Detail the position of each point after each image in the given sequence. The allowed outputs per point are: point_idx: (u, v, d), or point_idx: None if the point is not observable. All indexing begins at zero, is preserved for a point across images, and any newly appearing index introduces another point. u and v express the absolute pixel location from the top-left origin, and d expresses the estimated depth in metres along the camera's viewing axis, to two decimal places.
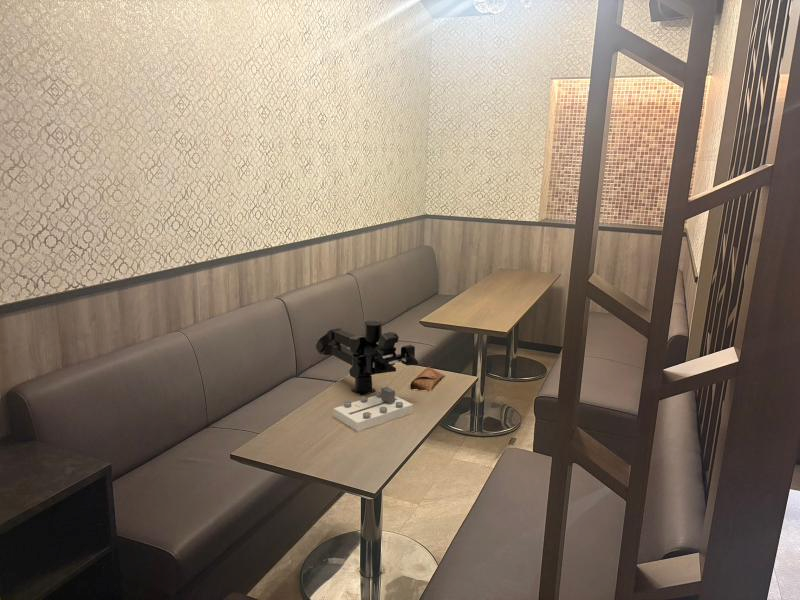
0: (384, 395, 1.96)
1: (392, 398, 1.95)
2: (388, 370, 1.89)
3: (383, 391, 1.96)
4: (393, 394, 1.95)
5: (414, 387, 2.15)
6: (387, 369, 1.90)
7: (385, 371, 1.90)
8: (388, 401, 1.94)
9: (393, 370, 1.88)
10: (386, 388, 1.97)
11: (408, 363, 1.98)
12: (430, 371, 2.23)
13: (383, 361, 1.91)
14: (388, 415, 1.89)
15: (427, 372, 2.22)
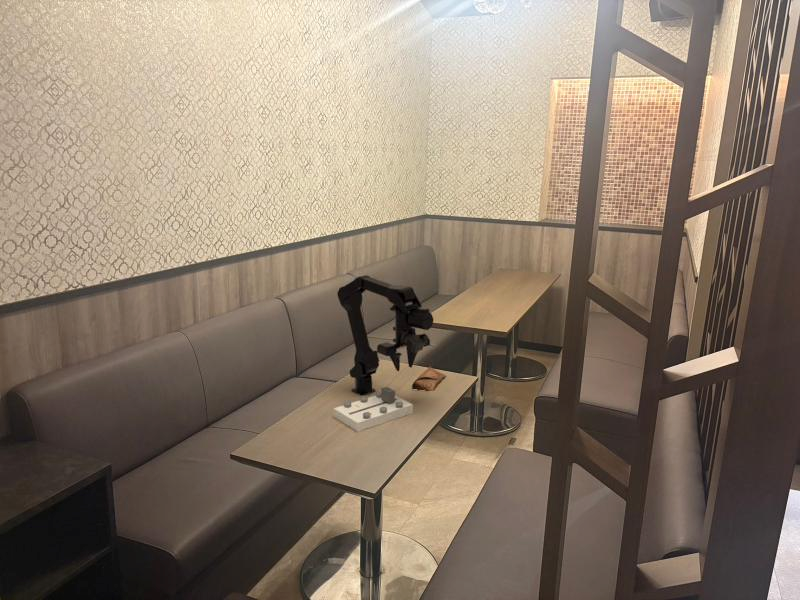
0: (384, 395, 1.96)
1: (392, 398, 1.95)
2: (394, 363, 1.96)
3: (383, 391, 1.96)
4: (393, 394, 1.95)
5: (416, 388, 2.14)
6: (394, 362, 1.96)
7: (392, 360, 1.96)
8: (388, 401, 1.94)
9: (396, 368, 1.97)
10: (386, 388, 1.97)
11: (407, 351, 2.00)
12: (432, 371, 2.23)
13: (398, 358, 1.94)
14: (388, 415, 1.89)
15: (429, 372, 2.22)
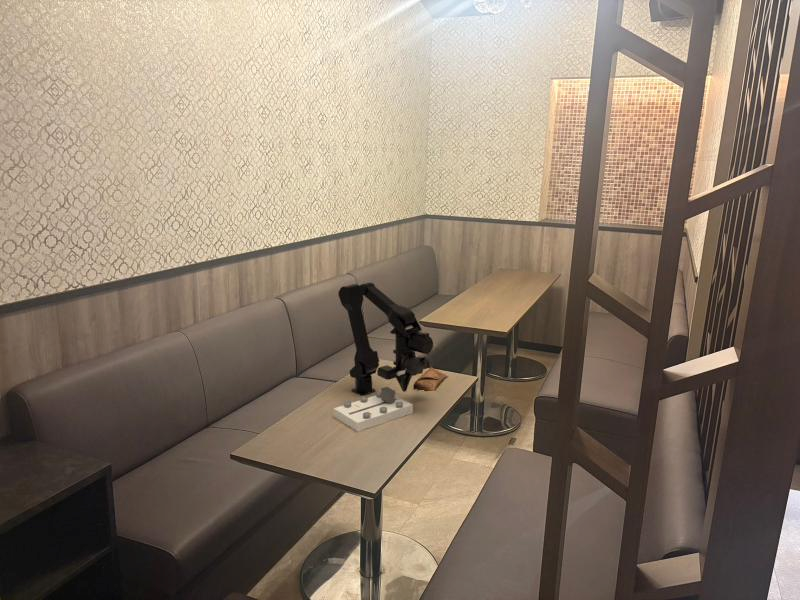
0: (384, 395, 1.96)
1: (392, 398, 1.95)
2: (400, 384, 2.00)
3: (383, 391, 1.96)
4: (393, 394, 1.95)
5: (417, 388, 2.14)
6: (400, 383, 1.99)
7: (398, 380, 2.00)
8: (388, 401, 1.94)
9: (402, 389, 2.00)
10: (386, 388, 1.97)
11: None
12: (433, 371, 2.23)
13: (404, 379, 1.97)
14: (388, 415, 1.89)
15: (430, 372, 2.22)
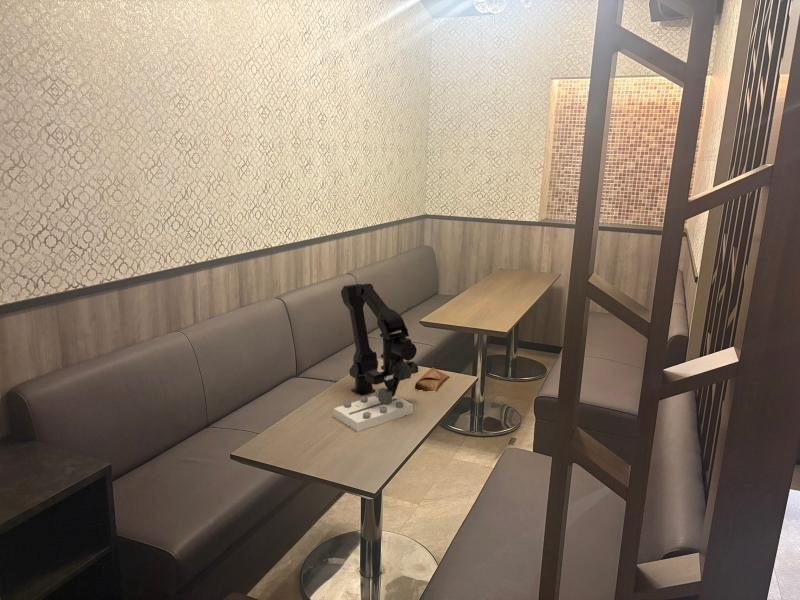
0: (381, 396, 1.95)
1: (389, 399, 1.94)
2: (388, 389, 1.97)
3: (380, 392, 1.95)
4: (390, 395, 1.94)
5: (418, 388, 2.14)
6: (388, 388, 1.96)
7: (386, 385, 1.97)
8: (385, 402, 1.94)
9: None
10: (383, 389, 1.96)
11: None
12: (435, 372, 2.23)
13: (392, 384, 1.94)
14: (388, 415, 1.89)
15: (432, 373, 2.21)
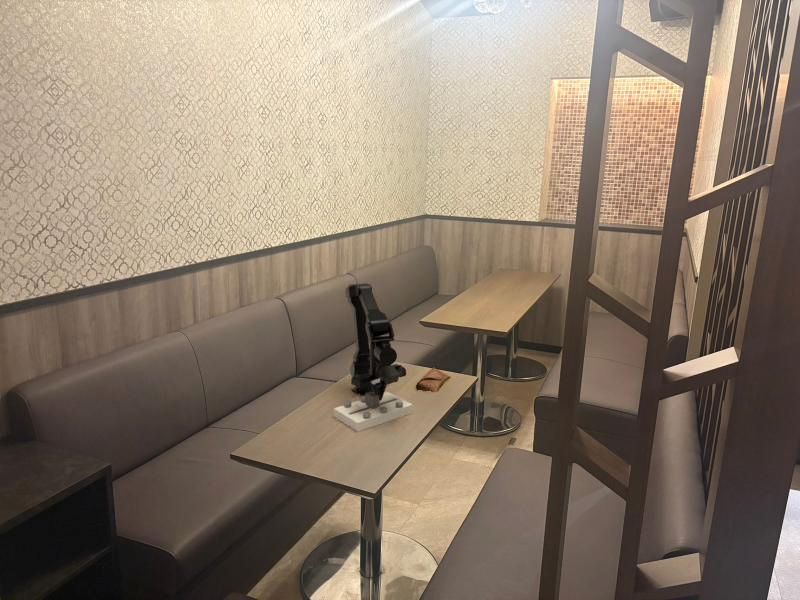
0: (368, 400, 1.92)
1: (376, 403, 1.91)
2: (375, 393, 1.94)
3: (367, 396, 1.92)
4: (377, 399, 1.91)
5: (419, 388, 2.14)
6: (375, 392, 1.93)
7: (373, 389, 1.94)
8: (372, 406, 1.91)
9: None
10: (370, 393, 1.93)
11: None
12: (435, 372, 2.22)
13: (379, 388, 1.91)
14: (388, 415, 1.89)
15: (433, 373, 2.21)
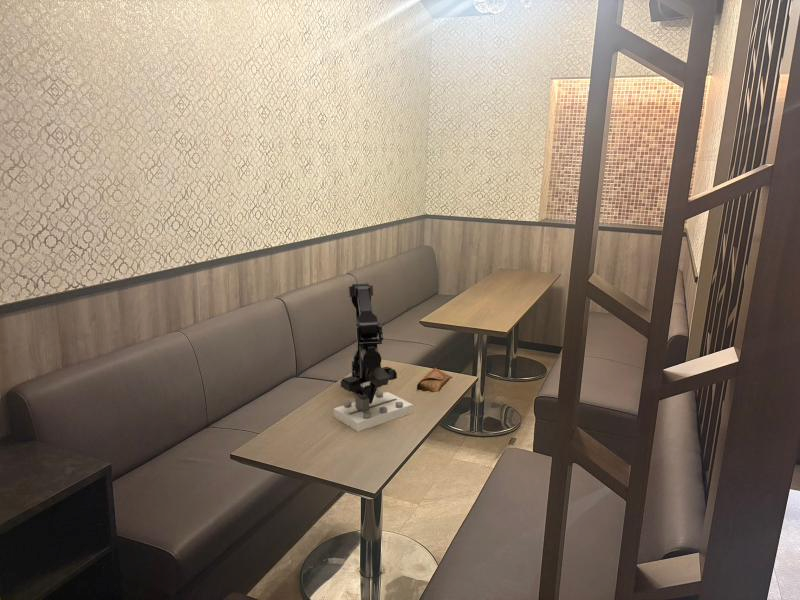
0: (358, 403, 1.90)
1: (366, 406, 1.89)
2: (365, 396, 1.91)
3: (357, 399, 1.90)
4: (367, 402, 1.89)
5: (420, 389, 2.14)
6: (365, 395, 1.91)
7: (363, 392, 1.91)
8: (362, 409, 1.88)
9: None
10: (360, 396, 1.90)
11: None
12: (437, 372, 2.22)
13: (369, 390, 1.89)
14: (388, 415, 1.89)
15: (434, 373, 2.21)
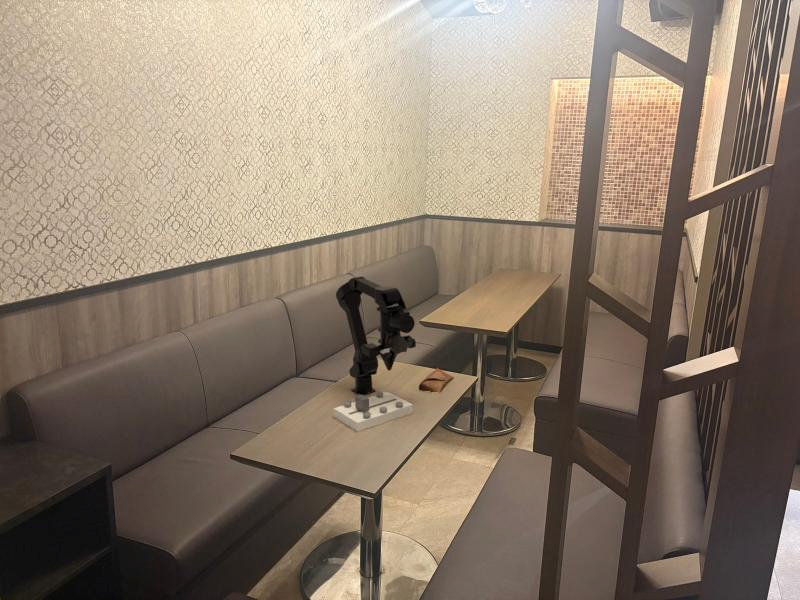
0: (358, 403, 1.90)
1: (366, 406, 1.89)
2: (384, 362, 1.98)
3: (357, 399, 1.90)
4: (367, 402, 1.88)
5: (422, 389, 2.13)
6: (385, 362, 1.97)
7: (383, 359, 1.98)
8: (362, 409, 1.88)
9: (387, 368, 1.98)
10: (360, 396, 1.90)
11: None
12: (439, 372, 2.22)
13: (388, 357, 1.95)
14: (388, 415, 1.89)
15: (436, 373, 2.21)
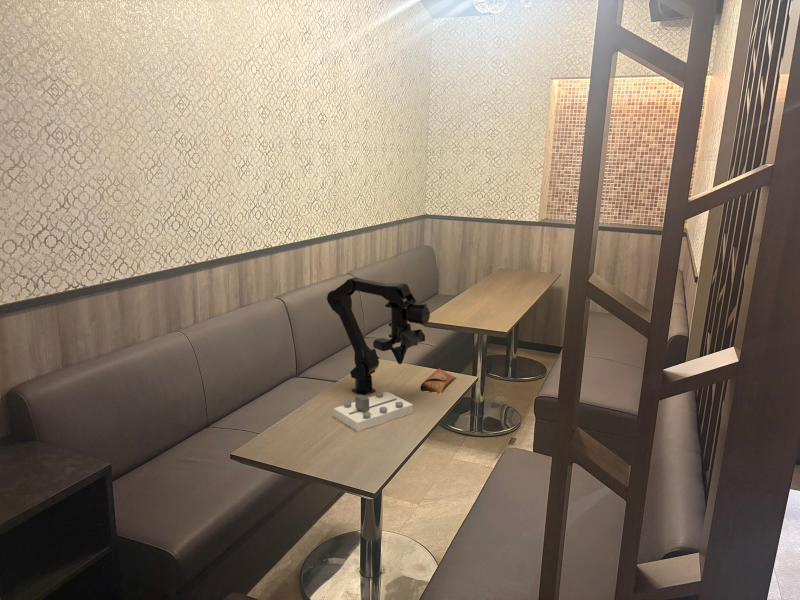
0: (358, 403, 1.90)
1: (366, 406, 1.89)
2: (395, 356, 2.03)
3: (357, 399, 1.90)
4: (367, 402, 1.88)
5: (424, 389, 2.13)
6: (395, 356, 2.03)
7: (393, 353, 2.03)
8: (362, 409, 1.88)
9: (398, 362, 2.03)
10: (360, 396, 1.90)
11: None
12: (441, 373, 2.21)
13: (399, 351, 2.00)
14: (388, 415, 1.89)
15: (438, 374, 2.20)
